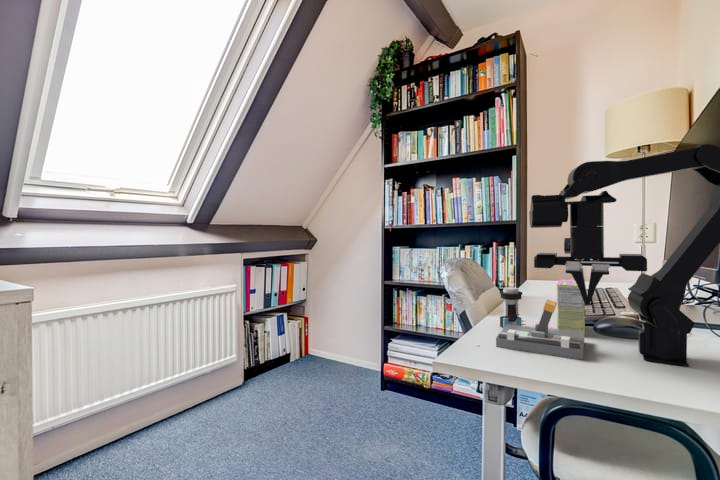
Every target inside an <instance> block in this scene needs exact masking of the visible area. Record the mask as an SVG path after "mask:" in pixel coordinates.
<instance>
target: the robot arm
mask: <svg viewBox="0 0 720 480" xmlns="http://www.w3.org/2000/svg"><path fill="white" fill-rule="evenodd" d="M686 170H687V171H688V170H692V171H694V172H696V174H698V176H700V177H701V178H702V179H703V180H705V182H707V183H708V184H710V185H711V186H714V188H713V190H712V192H711V195H710V200H709V206H708V208H707V210H706V211H705V212H704V213H703V214H702V216H701V217H700V218H699V220H698V221H697V222H696V223H695V225H694V226H693V228H692V229H691V230H690V231H689V232H688V233H687V235H685V237H684V239H683V240H682V241H681V242H680V244H679V245H678V246H677V248H676V249H674V251H673V252H672V254H671V255H670V256H669V258H668V259H667V260H666V261H665V262H664V264H663V265H662V267H661V268H660V269H659V270H658V271H656V272H654V273H653V274H651V275H649V274H647V273H641V272H647V271H648V258H647V257H645V256H644V255H643V254H641V253H619V255H618V257H617V256H615V257H614V256H613V257H611V256H608V257H607V256H605V247H604V246H605V235H604V230H605V229H604V228H605V227H604V224H605V223H604V222H605V221H604V219H605V218H604V217H605V216H604V214H605V213H604V211H605V209H604V204H612V203H615V202H617V198H616V197H614V196H612V195H611V194H610V193H609V192H608V191H607V190H603V191H601V192H600V194H596V195H595V194H594V195H582V196H581V199H580V200H579V201H577V200H576V201H575V200H574V201H566V200H570V199H573V198H577V197H578V196H580V195H581V194H588V193H592V192H594V191H598V190H600V189H604V188H606V187H609V186H613V185H615V184H618V183H619V184H620V183H621V182H626V181H631V180H637V179H642V178H647V177H653V176H658V175H664V174H670V173H675V172H680V171H686ZM528 213H529V214H528V215H529V228H531V229H535V228H536V229H539V228H542V229H543V228H544V229H545V228H561V227H562V225H563V223H568V220H569V226H570V227H569V229H570V231H569V232H570V233H569V234H570V235H569V236H570V237H565V238H564V240H563V241H564V242H563V251H564V254H567V255H568V254H569V256H561V255H560V256H558V252H539V253H537V254H535V256H534V259H533V265H534V266H533V267H534V268H535V269H552V268H553V267H554V266H565V268H566V269H565V274H570V275H571V276H572V278H573V280H575V282H576V283H577V285H578V287H579V290H580V293H581V295H582V298H583V300H584V304H585V305H590V304H591V302H592V299H593V296H594V293H595V291H596V289H597V286H598V285H599V283H600V281H601V279H602V277H603V276H607V275H610V271H609V269H610V268H611V267H612V268H613V267H614V268H615V267H617V268H618V267H619V268H620V267H621V268H622V269H623V270H625V271H626V272H640V275H639V276H638V277H637V279H636V281H635V283H634V284H633V285H632V286H630V287H628V291H630V292H629V293H628V295H627V296H628V297H627V300H628V304H629V307H630V309H632V310H633V311H634V312H635V313H637V314H638V317H639V319H640V321H642V324H641V325H642V326H641V328H642V329H639V330H638V352H639V354H640V355H642V358H643V360H644V361H647V362H650V361H651V362H655V363H657V362H658V363H662V364H669V365H676V366H684V367H690V362H689V361H688V360H687V359H688V352H687V351H688V350H687V349H688V348H687V347H688V334H691V332H692V331H693V328H694V326H695V322H694V321H693V320H692V319H691V318H690V317H688V316H687V315H686V314H685V313H684V312H682V311H681V310H680V308H681V306H682V304H683V302H684V300H685V297H686V296H685V295H686V290H687V286H688V284H689V282H690V281H691V279H692V278H693V277H694V276H695V275H696V273H697V272H698V271H699V270H700V268H701V267H702V266H703V265H704V264H705V262H706V261H708V259H709V258H710V256H712V254H713V252H714V251H715V250H716V249H717V247H719V246H720V147H719V146H717V145H715V144H711V143H705V144H701V145H698V146H695V147H690V148H686V149H685V148H684V149H679V150H675V151H674V150H673V151H669V152H665V153H659V154H654V155H649V156H648V155H647V156H644V157H638V158H634V159H628V160H598V161H597V160H595V161H594V160H593V161H586V162H583V163H581V164H579V165H578V166H577V167H575V168H573V169H572V170H571V171H570V173H569V174H568V176H567V184H566V185H565V186H564V188H562V190H560V191H559V194H552V195H551V194H550V195H540V194H534V195H531V196H530V210H529V212H528ZM583 266H585V267H591V268H590V274H589V275H590V277H589V282H588V289H587V288H586V287H587V286H586V279H585V274H584V268H583Z"/></svg>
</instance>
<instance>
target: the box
mask: <svg viewBox="0 0 720 480" xmlns="http://www.w3.org/2000/svg"><path fill="white" fill-rule="evenodd" d="M556 302H557V305H556V307H557V311H556V312H557V313H556V314H557V315H556V316H557V320H556V321H557V326H556V327H557V329H556V330H560V331H568V332H576V333H584V337H585V336H586V333H585V332H586V330H585V323H586V322H585V321H586V319H585V315H586V314H585V306H586V304H585V303H584V300H583V298H582V295H581V293H580V290H579V287H578V285H577V283H576V282H575V280H574V279H558V281H557V283H556Z"/></svg>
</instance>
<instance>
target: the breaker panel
mask: <svg viewBox="0 0 720 480" xmlns="http://www.w3.org/2000/svg"><path fill="white" fill-rule="evenodd" d="M538 325H539V323H535V327H534V326H533V327H532V326H526V325H521V326H517V325H509V324H507V325H506V326H505V327H504V328H502V329H501V331H499V333H498V334H497V336H496V337H495V347H496V348H504V349H510V350H515V351H522V352H523V351H524V352H528V353H529V352H530V353H535V354H542V355H549V356H555V357H561V358H569V359H575V360H581V361H583V360H584V353H585V351H584V350H585V336H584V333H576V332H568V331H560V330H557V329H551V328H550V329H549V326H548V327H547V330H546V332H541V331H537V328H538Z"/></svg>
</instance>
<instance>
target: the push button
mask: <svg viewBox="0 0 720 480" xmlns="http://www.w3.org/2000/svg"><path fill="white" fill-rule="evenodd" d="M519 290H520V289H519V288H518V287H512V286H507V287H503V290H500V291H499V294H500V298H501V299H502V300H503V314H502V315H501V316H499V326H500V327H501V328H502V329H504V327H505V326H506V325H507V324H509V325H517V326H526V325H527V324H526V323H522V322H526V320H525V319H522V317H520V313H519V300H522V296H523V292H522V291H519Z"/></svg>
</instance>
